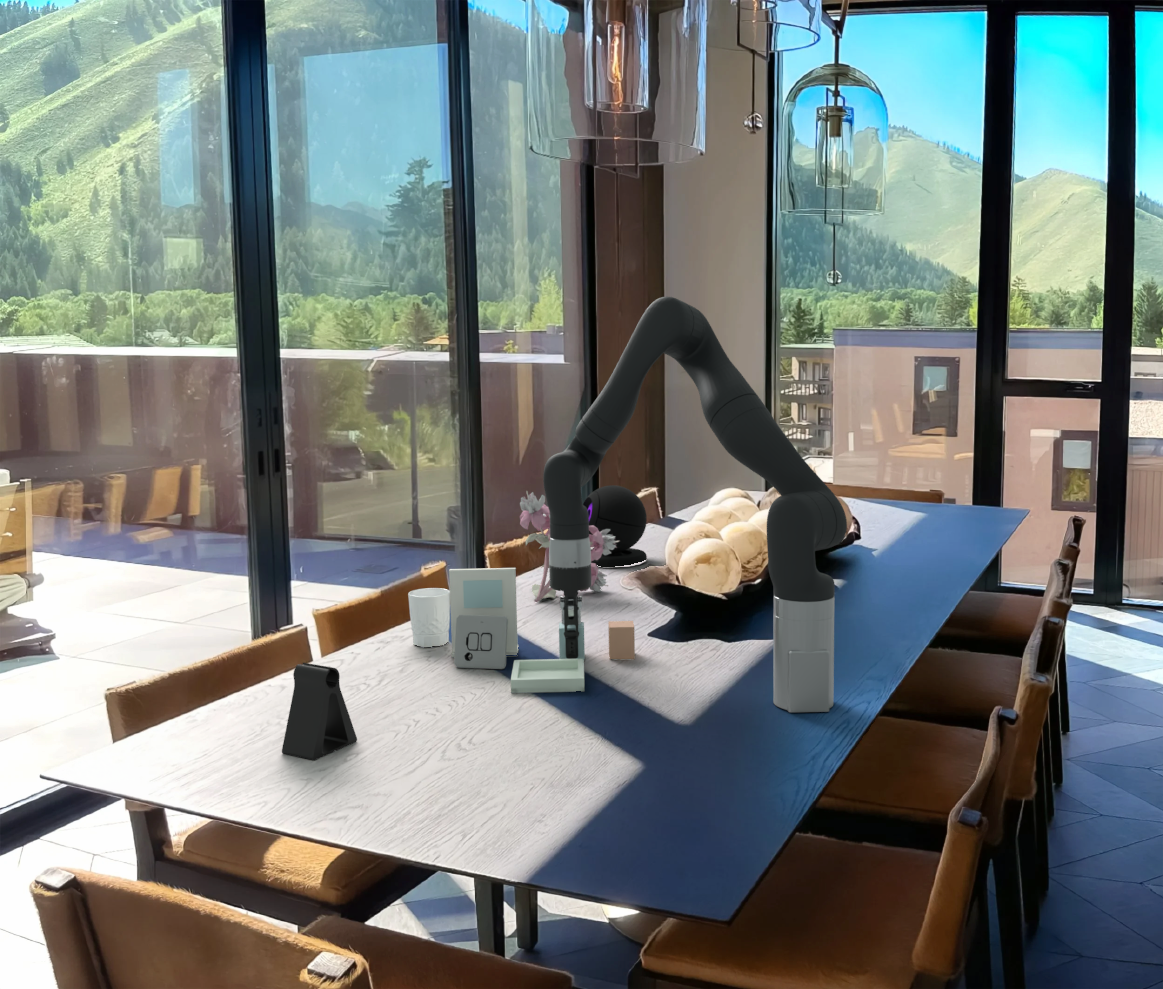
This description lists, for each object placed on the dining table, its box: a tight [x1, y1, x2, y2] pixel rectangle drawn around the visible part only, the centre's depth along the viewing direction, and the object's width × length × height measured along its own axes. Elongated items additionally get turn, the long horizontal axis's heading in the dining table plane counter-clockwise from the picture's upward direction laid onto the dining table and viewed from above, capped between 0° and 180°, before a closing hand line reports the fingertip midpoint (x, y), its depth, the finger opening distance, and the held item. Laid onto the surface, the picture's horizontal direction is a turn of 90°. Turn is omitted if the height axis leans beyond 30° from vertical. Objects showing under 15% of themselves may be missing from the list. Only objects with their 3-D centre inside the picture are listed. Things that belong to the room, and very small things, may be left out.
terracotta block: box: [607, 620, 636, 660], centre depth 210 cm, size 4×4×6 cm
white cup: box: [407, 587, 451, 648], centre depth 221 cm, size 8×8×10 cm
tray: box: [510, 658, 585, 694], centre depth 195 cm, size 12×12×2 cm
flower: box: [519, 490, 619, 603], centre depth 260 cm, size 20×22×25 cm
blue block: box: [558, 621, 586, 660], centre depth 209 cm, size 4×4×6 cm
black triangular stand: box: [281, 662, 358, 762], centre depth 164 cm, size 9×6×12 cm, turn 149°
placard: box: [448, 567, 519, 658], centre depth 213 cm, size 5×12×16 cm, turn 91°
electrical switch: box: [453, 615, 508, 670], centre depth 205 cm, size 9×5×9 cm, turn 78°
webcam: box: [582, 484, 648, 567], centre depth 299 cm, size 17×17×20 cm
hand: (572, 653), depth 210 cm, fingers open, 5 cm apart
